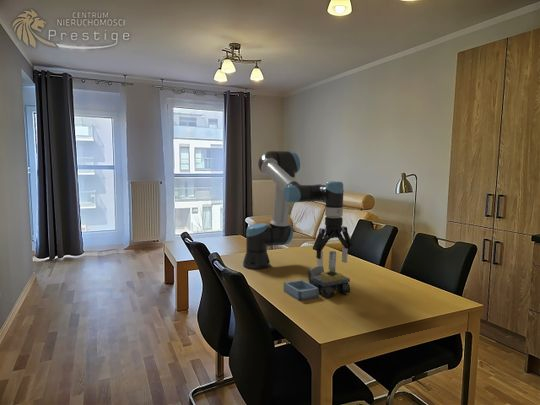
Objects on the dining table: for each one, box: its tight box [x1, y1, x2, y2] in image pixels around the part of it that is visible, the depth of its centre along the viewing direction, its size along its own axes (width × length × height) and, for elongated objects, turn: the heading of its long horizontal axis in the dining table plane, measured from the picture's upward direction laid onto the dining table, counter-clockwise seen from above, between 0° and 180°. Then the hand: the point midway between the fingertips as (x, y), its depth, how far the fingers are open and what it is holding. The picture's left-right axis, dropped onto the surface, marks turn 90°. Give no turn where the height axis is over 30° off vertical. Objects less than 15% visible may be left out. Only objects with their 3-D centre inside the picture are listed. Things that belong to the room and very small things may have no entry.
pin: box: [328, 250, 337, 276], centre depth 161 cm, size 3×3×12 cm
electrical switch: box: [306, 265, 325, 284], centre depth 173 cm, size 9×5×9 cm, turn 138°
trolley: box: [311, 270, 351, 299], centre depth 163 cm, size 13×14×9 cm
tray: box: [283, 279, 320, 302], centre depth 161 cm, size 13×10×4 cm
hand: (332, 264), depth 161 cm, fingers open, 13 cm apart
